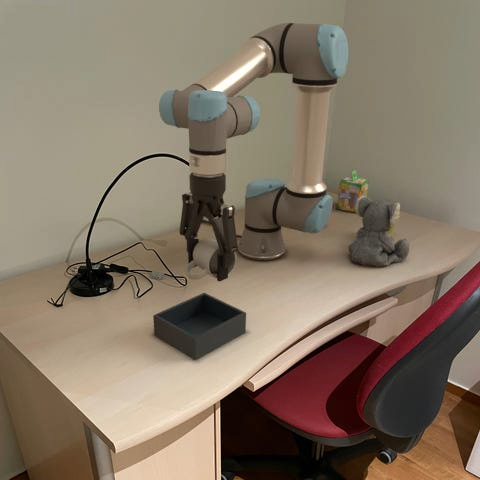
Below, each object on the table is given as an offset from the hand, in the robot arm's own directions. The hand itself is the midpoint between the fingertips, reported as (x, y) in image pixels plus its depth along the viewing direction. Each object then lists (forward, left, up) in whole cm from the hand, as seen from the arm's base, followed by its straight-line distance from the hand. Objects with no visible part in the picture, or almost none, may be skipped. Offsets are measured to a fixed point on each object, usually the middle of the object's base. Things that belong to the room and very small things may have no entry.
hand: (207, 272), depth 118 cm
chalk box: (-27, +106, -16) cm, 110 cm away
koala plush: (+5, +68, -16) cm, 70 cm away
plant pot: (-2, +86, -16) cm, 87 cm away
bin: (0, -3, -15) cm, 16 cm away
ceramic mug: (0, 0, 0) cm, 1 cm away
